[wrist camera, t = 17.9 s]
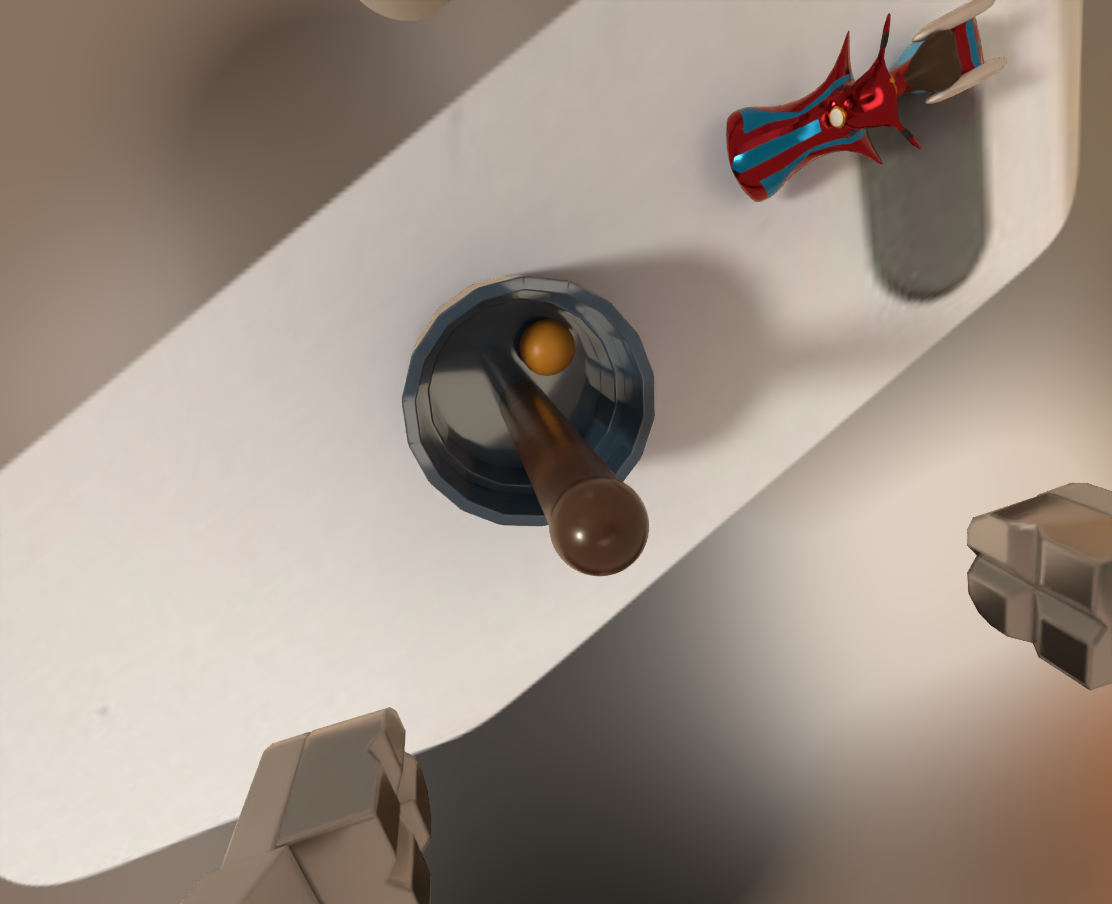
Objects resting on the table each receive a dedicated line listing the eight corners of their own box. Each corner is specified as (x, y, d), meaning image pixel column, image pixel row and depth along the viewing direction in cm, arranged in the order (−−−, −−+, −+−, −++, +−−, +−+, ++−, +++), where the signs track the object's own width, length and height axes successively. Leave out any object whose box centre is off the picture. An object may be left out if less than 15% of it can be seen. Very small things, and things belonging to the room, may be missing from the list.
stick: (493, 383, 27) (553, 506, 13) (545, 375, 28) (659, 487, 13) (501, 434, 28) (565, 604, 14) (551, 425, 28) (666, 583, 14)
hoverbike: (686, 118, 26) (748, 79, 21) (925, -6, 26) (1047, -76, 21) (726, 231, 28) (793, 222, 22) (950, 113, 28) (1069, 77, 23)
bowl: (379, 308, 26) (364, 316, 21) (593, 252, 27) (630, 247, 22) (445, 505, 29) (446, 556, 24) (634, 449, 30) (675, 486, 25)
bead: (519, 329, 27) (532, 301, 25) (569, 343, 28) (586, 318, 26) (509, 376, 26) (522, 352, 24) (561, 390, 27) (578, 368, 25)
